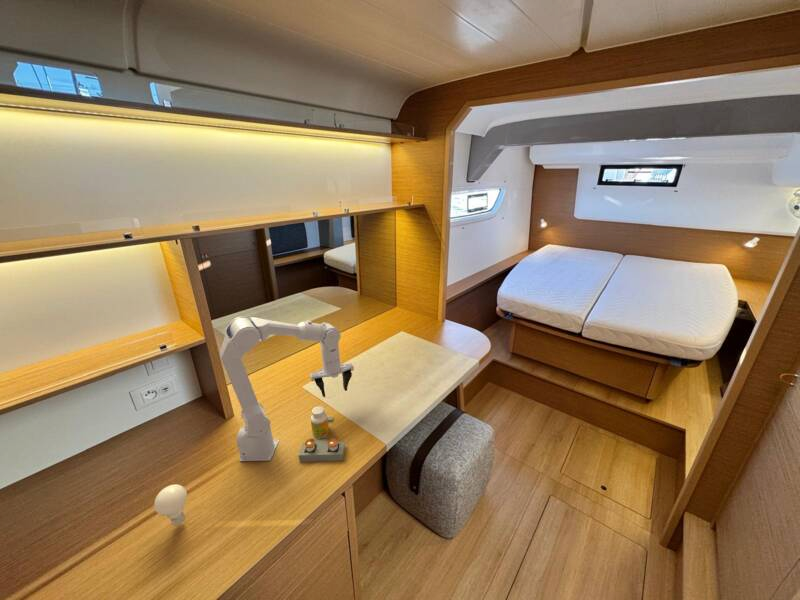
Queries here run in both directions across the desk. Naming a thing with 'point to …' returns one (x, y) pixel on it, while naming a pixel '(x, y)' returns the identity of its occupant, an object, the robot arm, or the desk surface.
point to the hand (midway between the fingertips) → (334, 392)
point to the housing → (322, 451)
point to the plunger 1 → (310, 446)
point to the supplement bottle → (319, 422)
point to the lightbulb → (171, 503)
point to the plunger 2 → (333, 445)
